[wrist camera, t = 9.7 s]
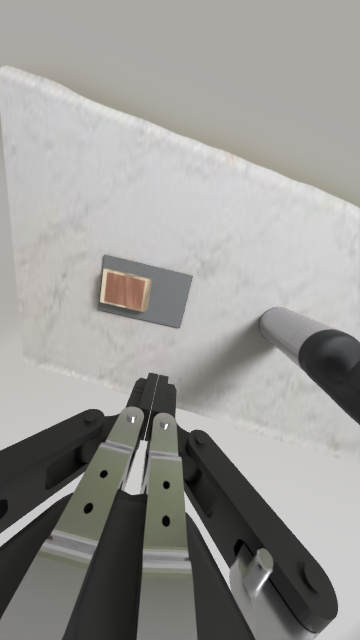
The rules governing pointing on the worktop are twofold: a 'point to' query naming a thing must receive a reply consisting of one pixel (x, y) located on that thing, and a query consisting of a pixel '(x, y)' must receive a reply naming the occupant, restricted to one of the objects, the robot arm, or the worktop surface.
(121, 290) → the cream brown rectangular block
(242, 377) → the worktop surface
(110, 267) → the rubber mat
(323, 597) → the robot arm
